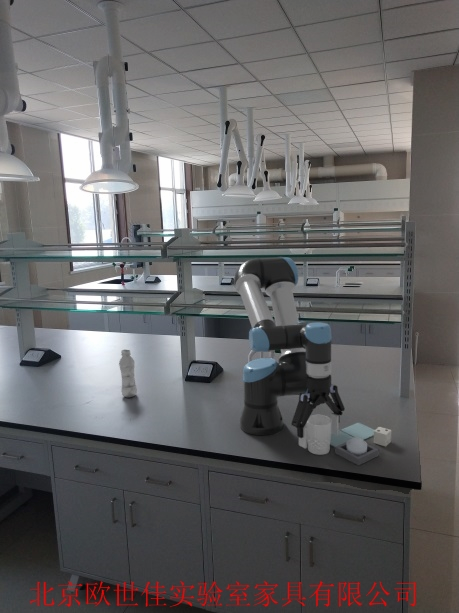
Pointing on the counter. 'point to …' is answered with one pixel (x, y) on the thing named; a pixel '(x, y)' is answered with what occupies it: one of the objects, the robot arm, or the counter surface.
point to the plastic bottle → (127, 374)
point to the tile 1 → (339, 438)
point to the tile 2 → (359, 431)
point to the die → (382, 436)
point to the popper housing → (358, 460)
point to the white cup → (319, 434)
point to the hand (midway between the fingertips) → (319, 439)
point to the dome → (357, 446)
